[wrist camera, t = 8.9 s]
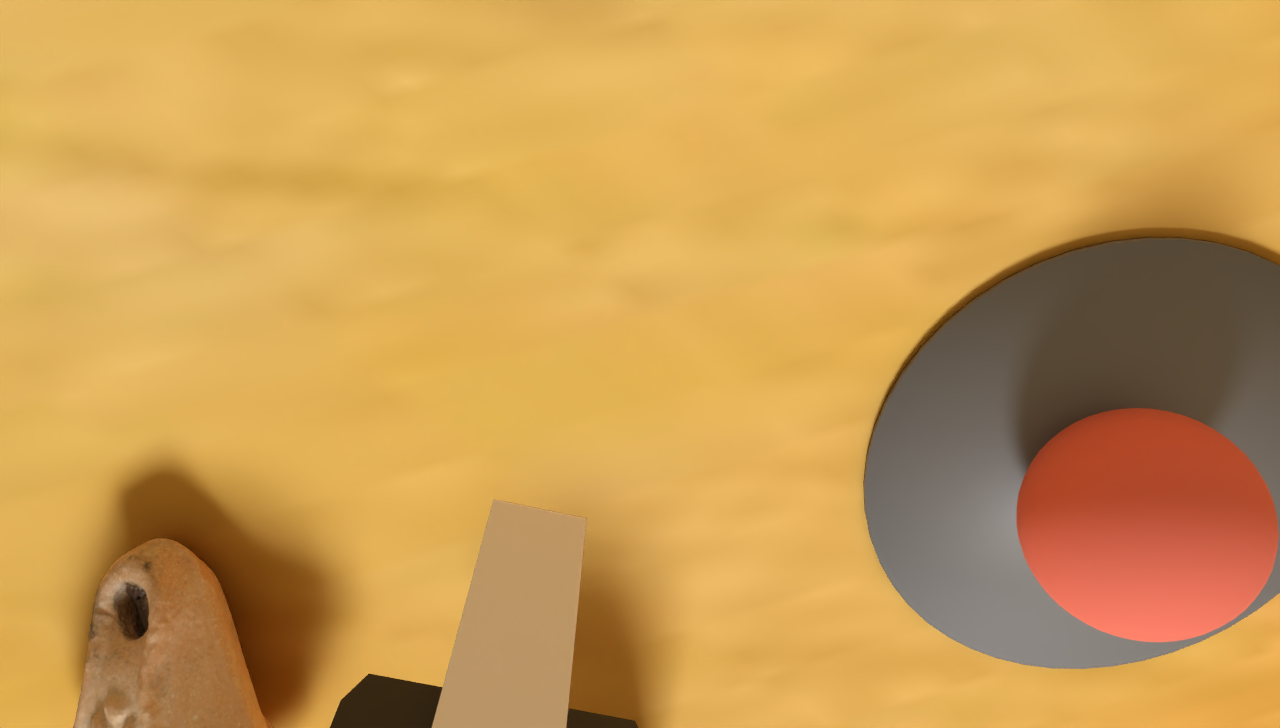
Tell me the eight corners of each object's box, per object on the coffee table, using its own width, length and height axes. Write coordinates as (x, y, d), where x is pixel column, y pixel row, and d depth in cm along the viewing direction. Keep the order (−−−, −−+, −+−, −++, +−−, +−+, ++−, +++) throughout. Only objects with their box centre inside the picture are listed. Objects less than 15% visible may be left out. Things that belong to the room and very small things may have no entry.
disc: (767, 524, 26) (768, 528, 26) (1108, 130, 21) (1112, 131, 21) (1109, 729, 29) (1111, 734, 28) (1477, 416, 24) (1483, 420, 24)
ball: (982, 476, 27) (953, 563, 22) (1132, 337, 24) (1136, 402, 19) (1142, 612, 26) (1148, 734, 21) (1317, 483, 23) (1368, 589, 18)
